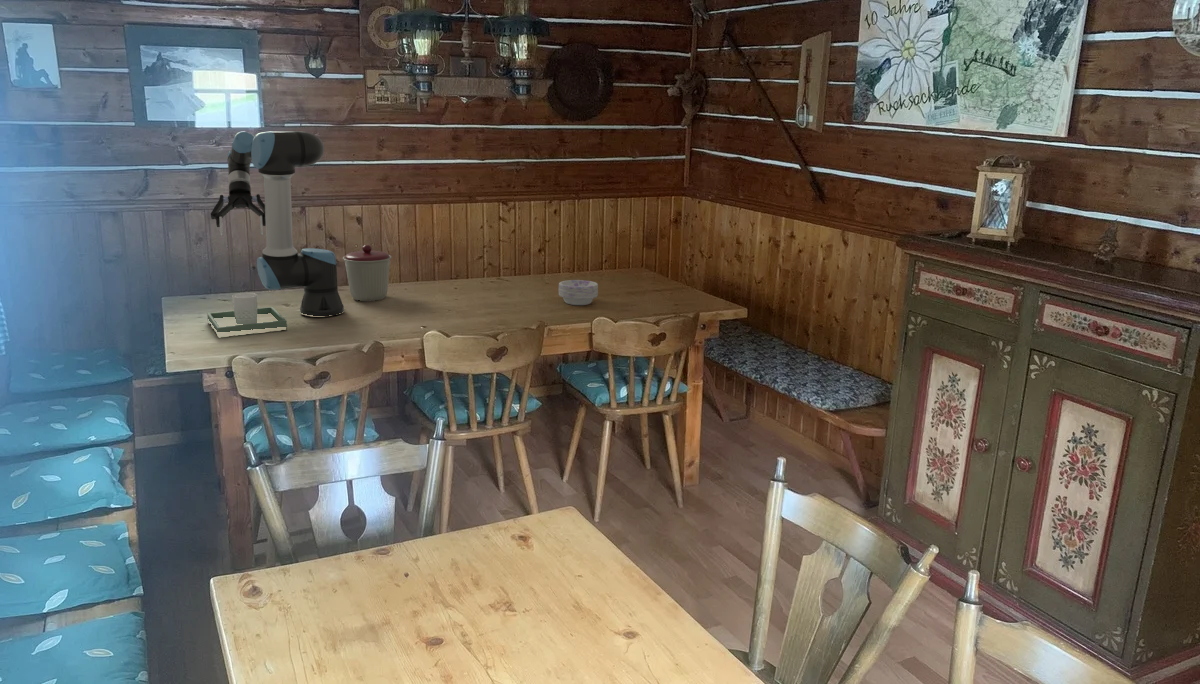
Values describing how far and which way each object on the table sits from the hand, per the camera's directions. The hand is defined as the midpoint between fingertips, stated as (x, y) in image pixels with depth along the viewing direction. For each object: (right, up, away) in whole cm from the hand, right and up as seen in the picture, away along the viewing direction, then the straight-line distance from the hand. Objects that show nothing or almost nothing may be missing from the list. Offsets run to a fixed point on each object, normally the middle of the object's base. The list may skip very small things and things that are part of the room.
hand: (241, 233), depth 329 cm
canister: (+39, -23, +26) cm, 52 cm away
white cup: (+9, -33, -18) cm, 39 cm away
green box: (+9, -34, -17) cm, 39 cm away
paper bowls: (+120, -24, +27) cm, 125 cm away
